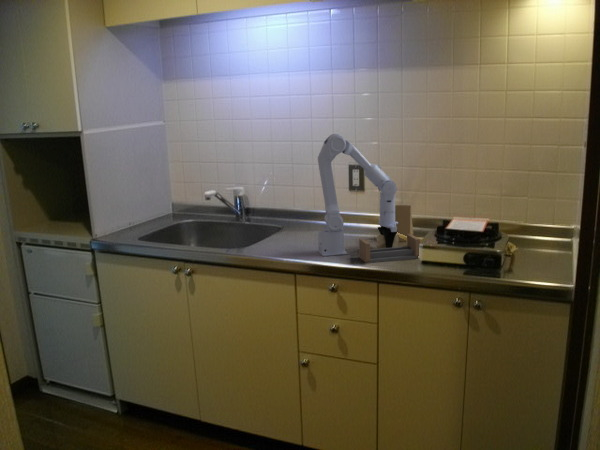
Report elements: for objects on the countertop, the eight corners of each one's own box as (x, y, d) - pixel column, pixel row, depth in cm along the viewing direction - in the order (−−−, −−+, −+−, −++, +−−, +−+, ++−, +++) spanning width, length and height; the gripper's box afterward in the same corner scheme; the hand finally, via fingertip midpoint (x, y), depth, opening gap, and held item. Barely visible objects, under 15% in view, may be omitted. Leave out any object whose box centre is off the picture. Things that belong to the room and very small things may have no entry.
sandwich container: (414, 233, 241) (414, 198, 238) (410, 242, 227) (411, 205, 224) (393, 232, 244) (393, 197, 240) (389, 241, 229) (389, 204, 226)
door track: (366, 263, 200) (365, 243, 199) (359, 257, 208) (359, 238, 206) (419, 258, 204) (419, 239, 202) (411, 252, 212) (411, 234, 210)
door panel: (378, 251, 214) (378, 236, 213) (376, 250, 216) (376, 235, 215) (398, 250, 216) (398, 234, 215) (396, 248, 218) (396, 233, 216)
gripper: (404, 214, 207) (404, 250, 210) (390, 207, 220) (390, 241, 223) (386, 215, 205) (386, 252, 208) (373, 208, 219) (373, 242, 222)
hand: (387, 246), depth 216 cm, fingers open, 3 cm apart
